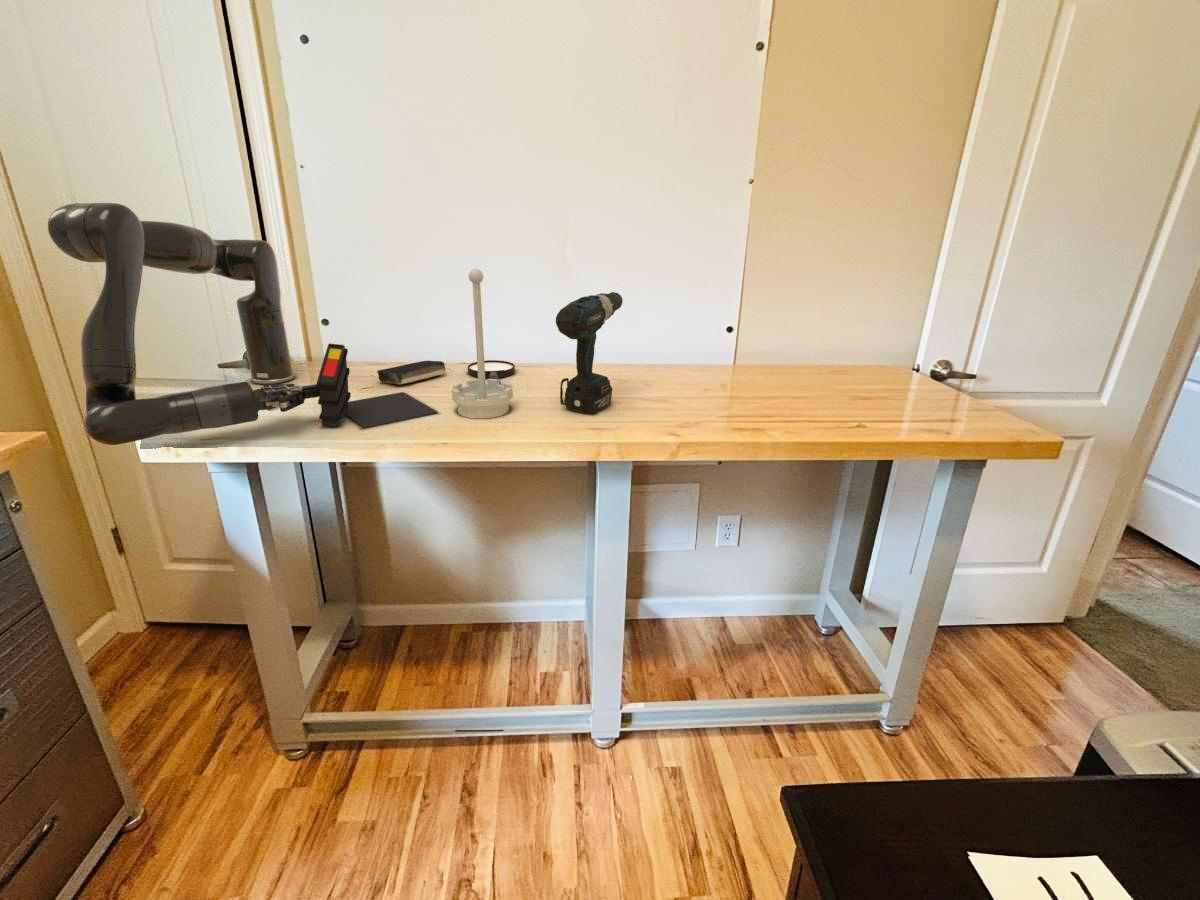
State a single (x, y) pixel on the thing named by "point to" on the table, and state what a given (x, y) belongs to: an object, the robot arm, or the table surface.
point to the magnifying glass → (493, 369)
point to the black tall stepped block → (333, 385)
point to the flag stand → (481, 374)
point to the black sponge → (411, 372)
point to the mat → (386, 409)
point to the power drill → (586, 350)
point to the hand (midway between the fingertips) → (322, 389)
